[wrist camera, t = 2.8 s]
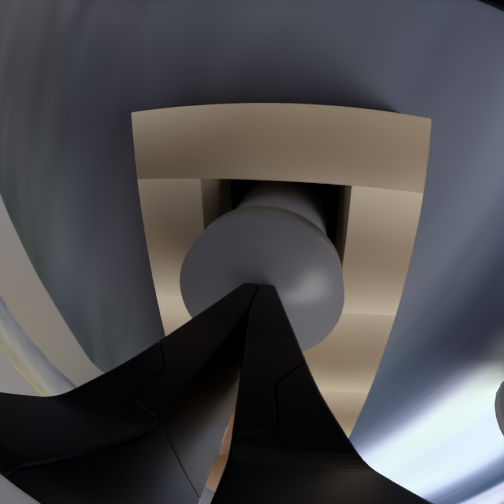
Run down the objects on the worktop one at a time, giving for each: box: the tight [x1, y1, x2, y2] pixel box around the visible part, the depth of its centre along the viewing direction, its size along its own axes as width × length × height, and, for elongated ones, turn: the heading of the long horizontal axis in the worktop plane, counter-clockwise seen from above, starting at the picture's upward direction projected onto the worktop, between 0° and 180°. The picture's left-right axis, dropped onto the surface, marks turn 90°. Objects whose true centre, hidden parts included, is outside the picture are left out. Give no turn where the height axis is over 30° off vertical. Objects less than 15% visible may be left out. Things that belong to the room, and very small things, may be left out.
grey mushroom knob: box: [180, 180, 345, 352], centre depth 11 cm, size 5×5×6 cm
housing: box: [131, 103, 431, 443], centre depth 15 cm, size 20×10×4 cm, turn 0°
